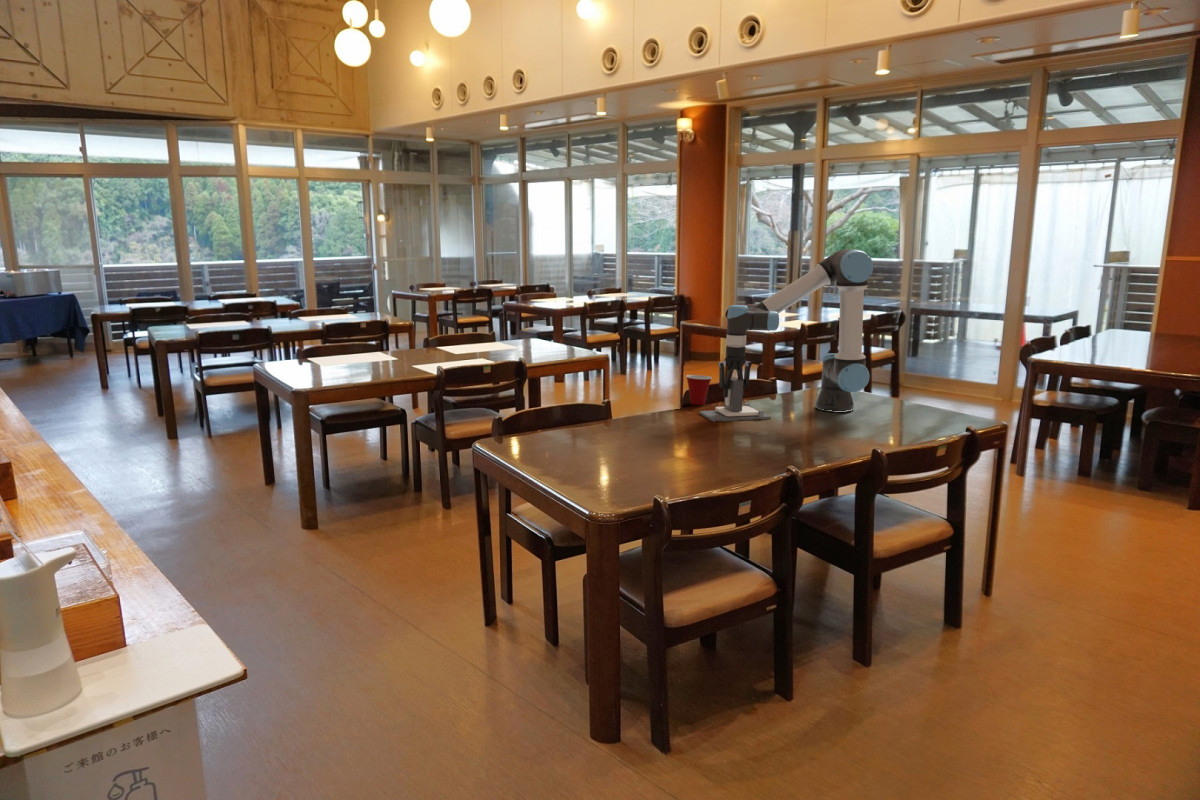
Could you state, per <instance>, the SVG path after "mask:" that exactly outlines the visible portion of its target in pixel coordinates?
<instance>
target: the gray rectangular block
mask: <svg viewBox="0 0 1200 800" xmlns="http://www.w3.org/2000/svg"><path fill="white" fill-rule="evenodd" d="M725 378H726V376H725ZM743 380H744V379H743ZM743 380H741V379H738V377H737V376H732V377H731V381H730V385H729V389H730V406H727V405H725V398H726V397H724V396H723V397H724V402H723V407H725V408H727V409H728V410H730V411H732V412H735V411H742V406H743V397H744V395H743Z"/></svg>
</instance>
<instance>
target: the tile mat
mask: <svg viewBox="0 0 1200 800" xmlns="http://www.w3.org/2000/svg"><path fill="white" fill-rule="evenodd" d="M743 406H749V407H750V402H744V405H743ZM754 409H755V410H757V411H759V414H758V416H734V417H727V416H725V415H723V414H721V413H720V412H718V411H716V410H700V411H699V414H700V415H701V416H703V417H704V418H706V419H707V418H708V419H707V420H709V421H711V422H712V421H713V422H712V423H715V421H723V422H735V421H736V422H737V421H738V420H742V421H754V420H753V419H761V420H768V419H767V418H771V419H772V416H771V415H769V414H767V413H765V410H763V409H757V408H754Z"/></svg>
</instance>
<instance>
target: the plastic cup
mask: <svg viewBox="0 0 1200 800" xmlns="http://www.w3.org/2000/svg"><path fill="white" fill-rule="evenodd" d="M685 377H686V380H687V387H688V394H689V395H688V396H689V401H690V404H691V405H693V406H704V405H705V404H706V400H707V396H708V393H709V392H708V391H709V386H710V383H711V381H712V379H713V377H712V376H710V375H709V376H708V375H700V374H699V375H698V374H687V375H686V376H685ZM691 390H692V391H691Z"/></svg>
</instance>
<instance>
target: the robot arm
mask: <svg viewBox="0 0 1200 800" xmlns="http://www.w3.org/2000/svg"><path fill="white" fill-rule="evenodd" d="M873 271H874V263H873V259H872V258H871V256H870V255H869V254H868V253H866V252H865V251H863V250H860V249H849V248H845V249H844V248H843V249H840V250H837V251H836V252H833V253H831V254H830V255H828V256H827V257H826V258H825V259H823V260H822V261H820V262H818V263H816V265H815V268H813V269H812V270H810V271H809V272H808V273H807V272H806V273H805V274H804V275H802V276H800V277H799V278H798V279H796V280H794V281H793V282H791V283H789V284H787V286H785V287H783V288H782V289H780V290H778V291H777V292H775V293H774V294H773V293H772V294H771V296H769V297H767V298H766V299H764V300H763V301H761V302H759V303H757V304H756V305H755V306H754V305H753V306H749V307H748V305H744V304H743V305H742V304H731V305H730V306H728V309H727V317H726V318H727V321H726V322H727V323H726V339H725V340H726V342H725V344H726V345H727V346H726V347H725V358H724V360H723V361H719V362H718V363H717V365H718V368H719V371H718V372H719V375H718V377H719V381H718V382H719V383H718V386H719V388H722V389H723V397H726V398H725V405H727V406H730V389H729V385H730V381H731V377H733V373H734V371H736V374H737V376H736V377H737V378H738V379H741V380H743V396H744V391H745V389H746V388H748V387H749V386H750V377H751V376H750V375H751V367H752V365H753V362H752V361H749V360H747V359H746V353H747V351H746V350H747V348H746V345H747V331H761V332H762V331H766V332H767V331H768V332H770V331H777V330H778V328H779V325H780V315H779V313H781V312H783V311H786V309H788V308H790V307H792V306H793V305H794V304H796V303H798V302H799V301H801V300H802V299H804V298H806V297H808V296H810V295H811V294H812V293H814V292H815V291H818V289H820V288H822V287H824V286H825V285H827V286H830V285H832V284H834V283H836V284H835V287H836V288H837V289H838V290H839V292H840V293H839V320H838V321H839V327H838V328H839V329H838V352H837V353H826V354H823V359H822V369H821V381H820V382H821V383H820V384H821V385H820V391H819V394H818V395H817V398H816V400H815V406H816V407H817V408H820V409H824V410H832V411H846V410H851V409H853V408H854V400H853V395H852V393H857V392H860V391H862V390H863V389H864V388H865V387H866V386H867V385H868V383H869V382H870V372H869V369H868V367H866V364H867V363H866V360H867V357H866V355H865V354H864V353H863V326H864V325H863V323H864V295H865V293H864V291H865V290H866V289H867V288H868V286H869V278H870V277H871V276H872V274H873ZM726 366H727V368H725V367H726ZM743 366H744V372H743ZM725 374H726V375H725ZM725 377H726V378H725ZM815 406H814V407H815ZM853 410H854V409H853Z"/></svg>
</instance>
